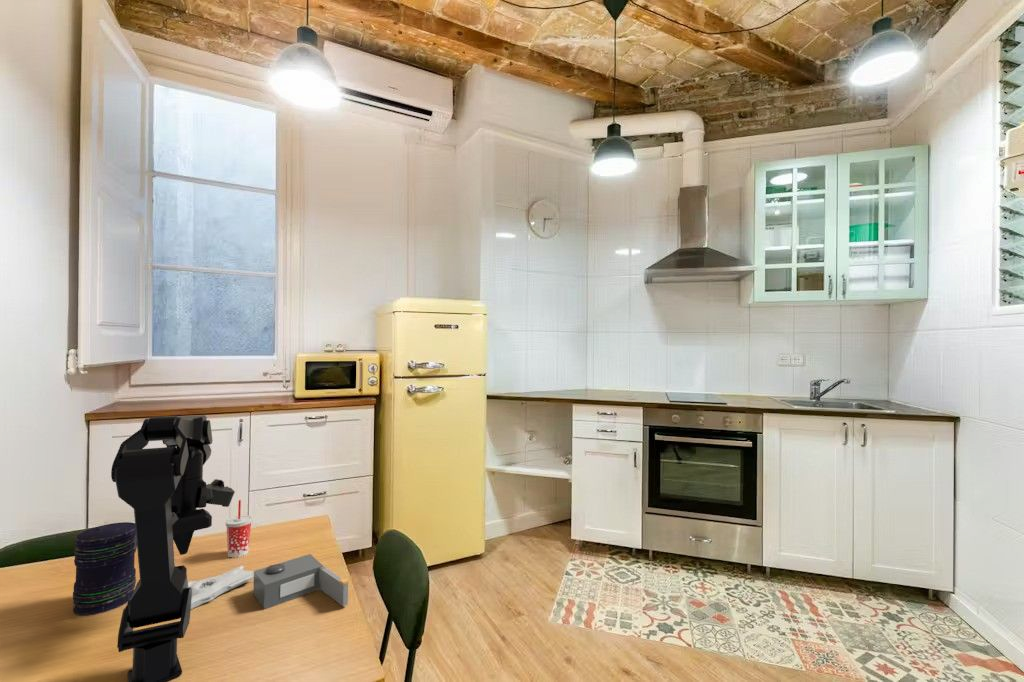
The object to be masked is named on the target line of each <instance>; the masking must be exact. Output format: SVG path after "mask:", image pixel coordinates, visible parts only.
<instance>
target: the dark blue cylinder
mask: <svg viewBox="0 0 1024 682" xmlns="http://www.w3.org/2000/svg"><path fill="white" fill-rule="evenodd" d="M74 545H75V547H74V548H75V549H74V551H73V554H74V560H73V563H74V566H75V582H74V583H73V592H72V601H73V608H72V613H73V614H74V615H76V616H82V617H83V616H84V617H86V616H95V615H99V614H102V613H107V612H111V611H113V610H116V609H117V608H120V607H122V606H124V605H127V603H128V601H129V599H130V598H131V597H132V594H133V592H134V590H135V587H136V584H137V576H136V574H137V573H136V570H137V569H136V568H135V559H136V558H135V557H136V555H135V554H136V552H137V540H136V528H135V522H132V521H131V522H127V521H124V522H123V521H122V522H114V523H107V524H103V525H98V526H95V527H91V528H89V529H86V530H83V531H81V532H80V533H78V534H77V535H76V536H75V543H74Z"/></svg>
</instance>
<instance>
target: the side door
mask: <svg viewBox="0 0 1024 682" xmlns="http://www.w3.org/2000/svg"><path fill="white" fill-rule="evenodd" d="M319 590H321V591H322V592H323V593H325V594H326V595H327V596H329V597H330V598H331V599H333V600H334V601H335V602H337V603H338V604H340V605H341V606H342V607H345V606H347V605H348V603H349V596H348V595H349V580H348V579H346V577H344V578H342V577H340V576H339V575H338V574H336V573H334V572H333V571H331V570H330V569H329V568H327V567H326V566H324V565H323V567H320V571H319Z"/></svg>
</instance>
